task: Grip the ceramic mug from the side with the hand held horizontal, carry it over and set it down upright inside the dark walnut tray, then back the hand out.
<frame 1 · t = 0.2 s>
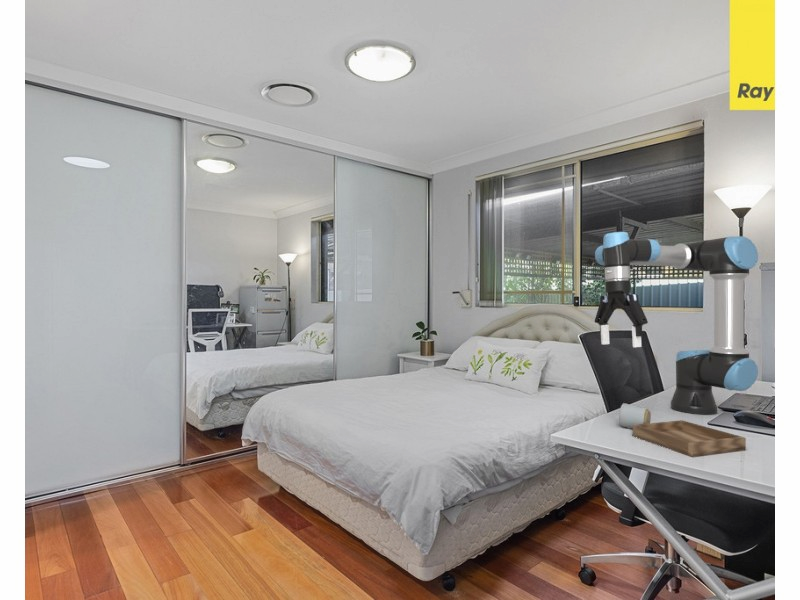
hand: (620, 345, 151), 27 cm above the table, tool pointing down, fingers open, 13 cm apart
walnut tray: (686, 442, 136), on the table
ceramic mug: (634, 428, 153), on the table
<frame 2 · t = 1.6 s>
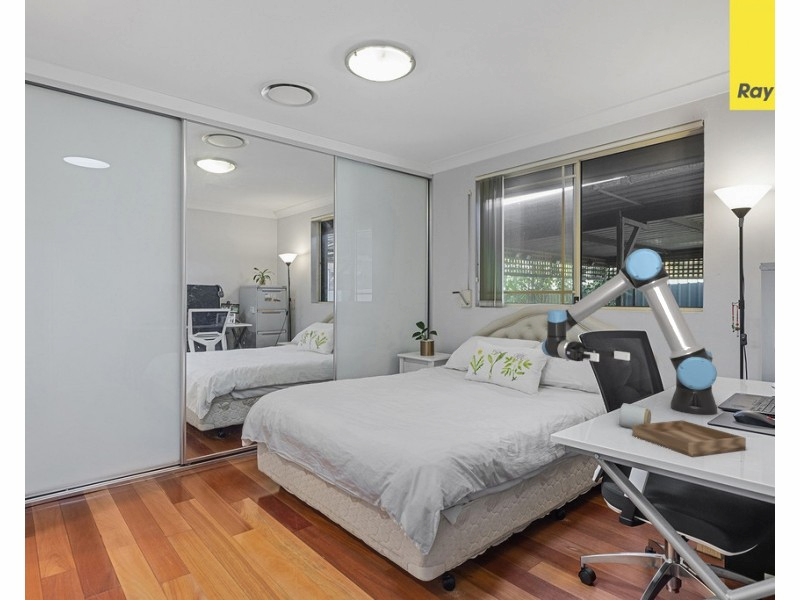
hand: (613, 357, 162), 22 cm above the table, tool horizontal, fingers open, 13 cm apart
nothing on the table moved.
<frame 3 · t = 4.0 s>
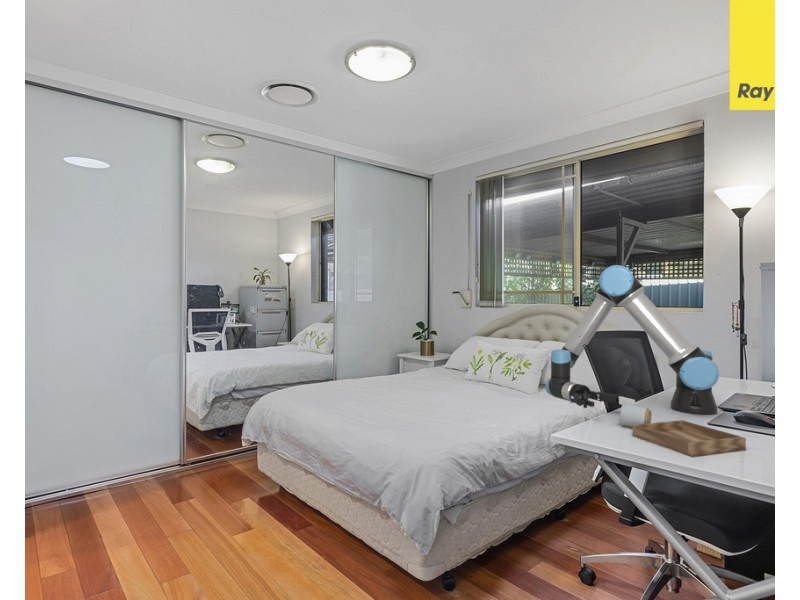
hand: (618, 405, 159), 6 cm above the table, tool horizontal, fingers open, 13 cm apart
nothing on the table moved.
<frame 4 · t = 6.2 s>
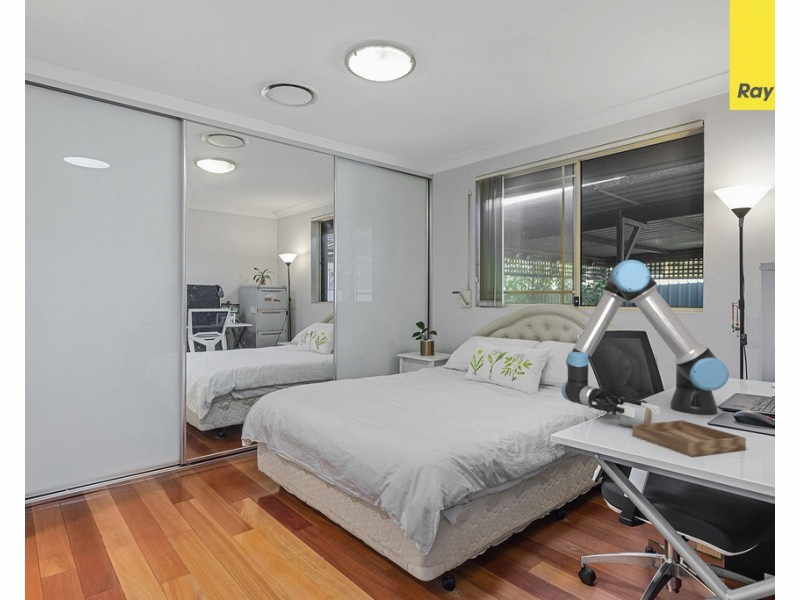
hand: (646, 412, 149), 6 cm above the table, tool horizontal, fingers closed on ceramic mug, 9 cm apart
ceramic mug: (635, 427, 154), on the table, touching gripper
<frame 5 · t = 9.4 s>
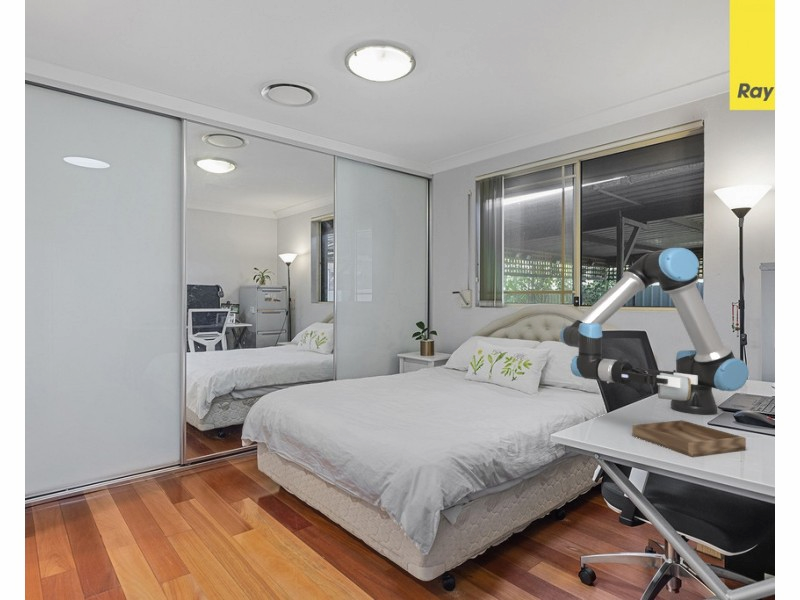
hand: (689, 381, 136), 18 cm above the table, tool horizontal, fingers closed on ceramic mug, 9 cm apart
ceramic mug: (672, 399, 141), point 12 cm above the table, touching gripper
when the fingers open (8 cm above the table, at t = 12.5 s): ceramic mug drops 1 cm, resting on walnut tray.
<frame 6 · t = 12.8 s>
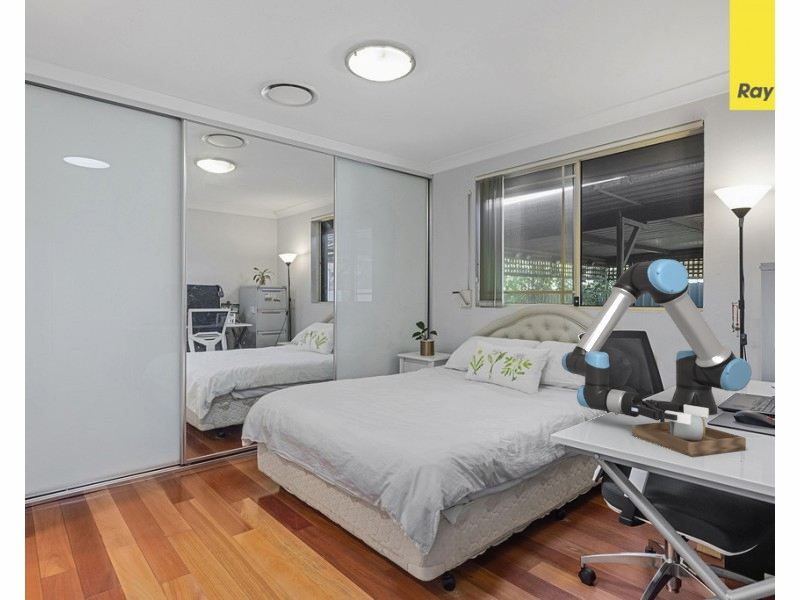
hand: (700, 416, 134), 8 cm above the table, tool horizontal, fingers open, 12 cm apart
ceramic mug: (684, 438, 138), point 1 cm above the table, touching walnut tray
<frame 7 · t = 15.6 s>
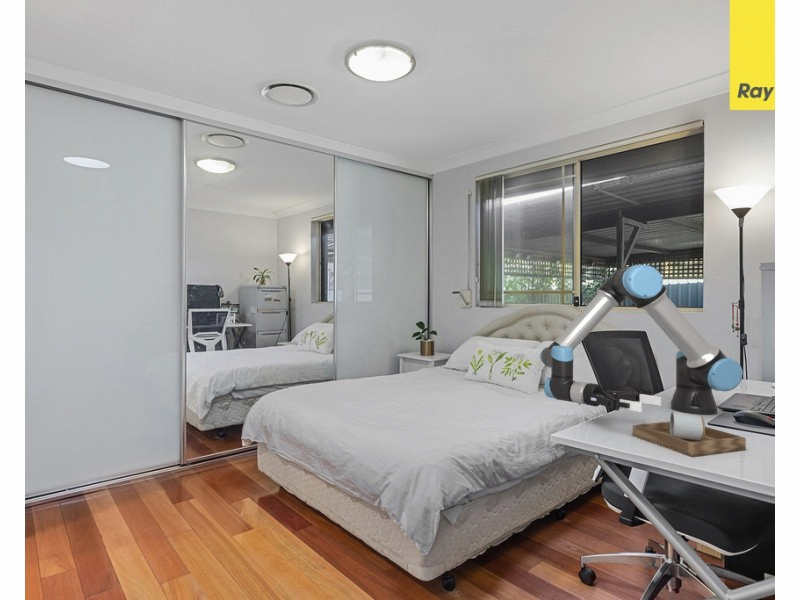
hand: (651, 404, 144), 10 cm above the table, tool horizontal, fingers open, 13 cm apart
nothing on the table moved.
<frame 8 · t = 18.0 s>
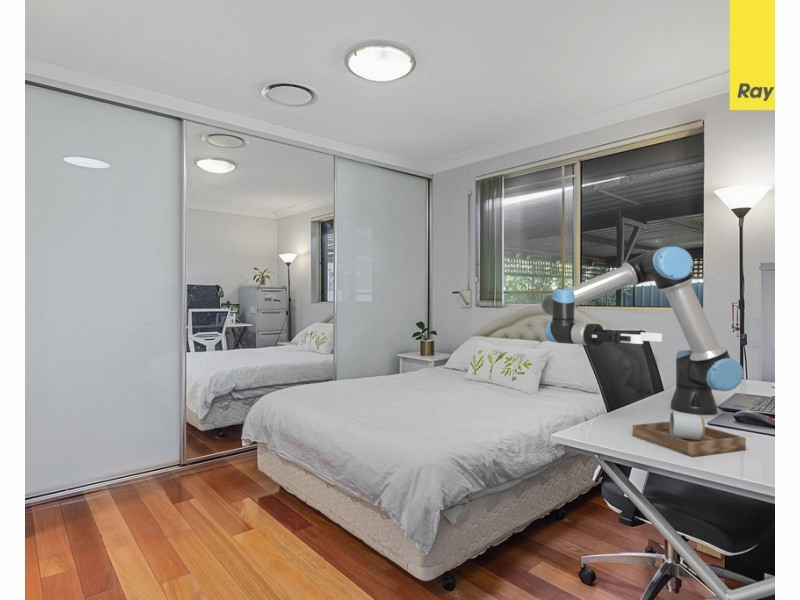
hand: (652, 338, 144), 30 cm above the table, tool horizontal, fingers open, 13 cm apart
nothing on the table moved.
at the end: ceramic mug inside the target area on the walnut tray (2.1 cm from its centre), point 0.8 cm above the walnut tray's base; ceramic mug tilted 0°; the gripper is holding nothing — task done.
